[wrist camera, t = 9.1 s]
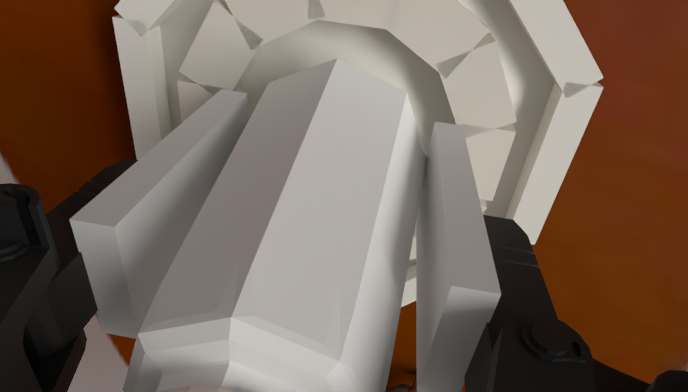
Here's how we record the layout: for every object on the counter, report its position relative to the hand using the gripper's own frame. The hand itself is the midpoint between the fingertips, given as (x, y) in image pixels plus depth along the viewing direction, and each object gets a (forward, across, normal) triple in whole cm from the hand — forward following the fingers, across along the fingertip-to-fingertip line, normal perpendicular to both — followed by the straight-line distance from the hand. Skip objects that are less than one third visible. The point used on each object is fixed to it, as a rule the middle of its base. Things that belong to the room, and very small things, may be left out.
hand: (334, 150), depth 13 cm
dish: (+3, 0, 0) cm, 3 cm away
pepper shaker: (+1, 0, 0) cm, 1 cm away
